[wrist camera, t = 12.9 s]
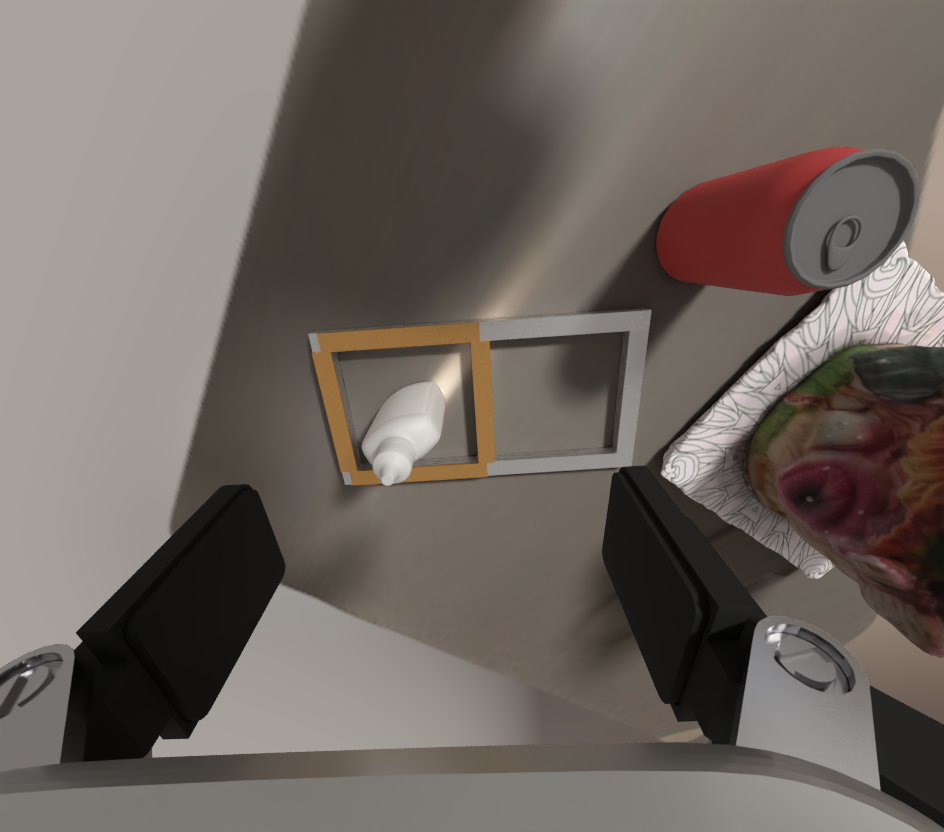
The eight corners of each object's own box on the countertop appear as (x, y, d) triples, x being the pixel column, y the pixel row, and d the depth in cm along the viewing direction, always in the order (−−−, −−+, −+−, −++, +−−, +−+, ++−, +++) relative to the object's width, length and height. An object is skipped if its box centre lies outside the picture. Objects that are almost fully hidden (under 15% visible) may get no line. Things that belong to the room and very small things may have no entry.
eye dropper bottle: (380, 377, 31) (334, 445, 20) (446, 381, 32) (436, 450, 21) (382, 424, 33) (341, 509, 22) (445, 427, 33) (435, 513, 22)
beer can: (645, 283, 29) (757, 303, 18) (660, 184, 26) (804, 134, 15) (729, 281, 29) (894, 299, 18) (754, 181, 26) (966, 130, 15)
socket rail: (313, 330, 30) (307, 334, 28) (644, 307, 29) (652, 310, 28) (348, 477, 35) (344, 486, 34) (626, 459, 35) (632, 467, 34)
